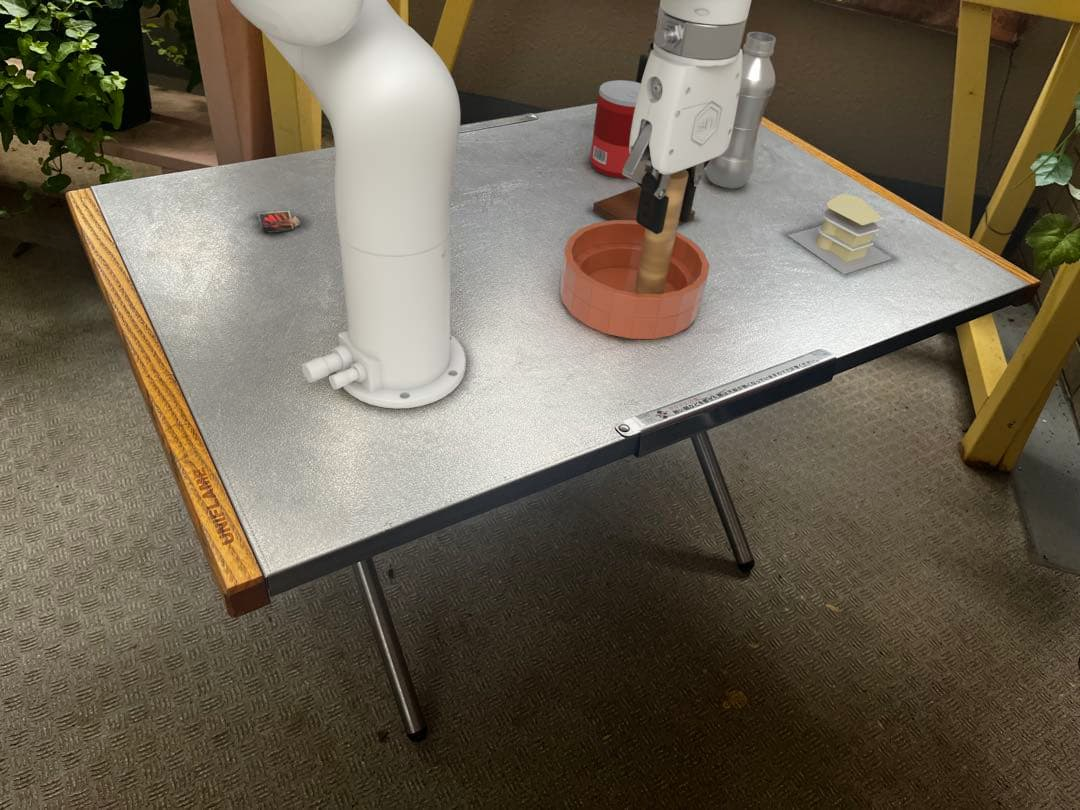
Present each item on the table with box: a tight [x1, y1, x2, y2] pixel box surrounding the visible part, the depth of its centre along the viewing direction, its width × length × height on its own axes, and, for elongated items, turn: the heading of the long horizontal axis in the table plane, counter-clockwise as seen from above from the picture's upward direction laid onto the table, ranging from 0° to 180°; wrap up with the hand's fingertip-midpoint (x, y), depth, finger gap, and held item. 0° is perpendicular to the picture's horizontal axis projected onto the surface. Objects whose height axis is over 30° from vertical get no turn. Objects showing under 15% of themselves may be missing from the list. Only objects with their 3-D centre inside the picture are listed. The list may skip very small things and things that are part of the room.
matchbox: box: [256, 210, 302, 234], centre depth 97 cm, size 5×5×1 cm
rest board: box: [592, 186, 696, 226], centre depth 105 cm, size 10×9×1 cm
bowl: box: [559, 220, 710, 340], centre depth 89 cm, size 16×16×6 cm
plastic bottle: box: [705, 31, 777, 189], centre depth 108 cm, size 6×7×20 cm
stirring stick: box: [635, 169, 689, 294], centre depth 83 cm, size 3×3×14 cm
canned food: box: [590, 79, 641, 179], centre depth 112 cm, size 8×8×11 cm
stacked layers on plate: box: [787, 193, 893, 275], centre depth 102 cm, size 10×9×6 cm
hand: (662, 220), depth 82 cm, fingers closed on stirring stick, 3 cm apart
